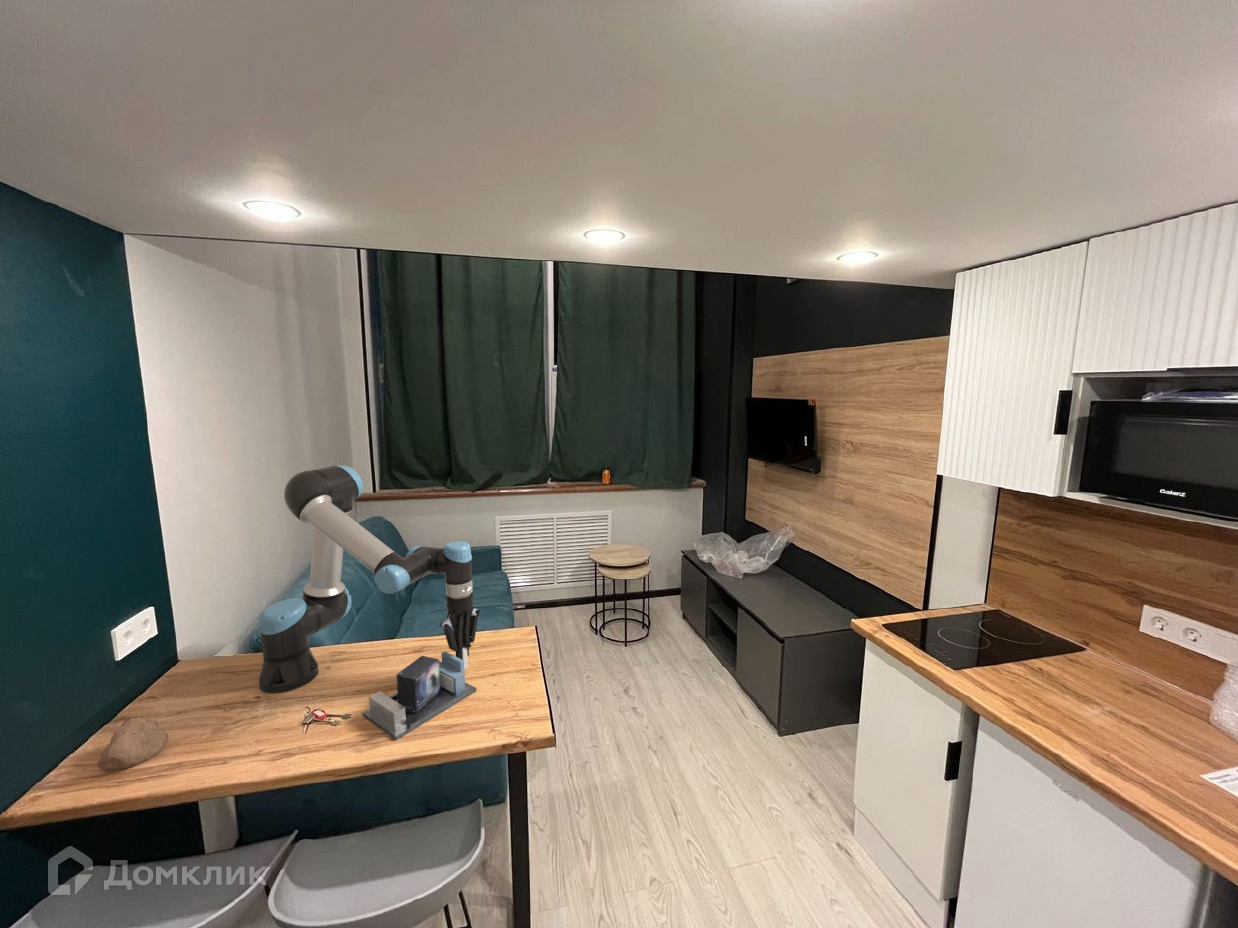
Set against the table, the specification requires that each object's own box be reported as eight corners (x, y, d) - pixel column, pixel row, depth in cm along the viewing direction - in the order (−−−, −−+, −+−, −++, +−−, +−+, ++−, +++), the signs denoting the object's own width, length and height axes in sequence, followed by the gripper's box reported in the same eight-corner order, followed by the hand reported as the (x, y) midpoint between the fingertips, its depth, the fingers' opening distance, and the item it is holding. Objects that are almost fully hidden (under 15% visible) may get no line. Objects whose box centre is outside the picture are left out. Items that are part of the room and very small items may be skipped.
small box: (417, 714, 131) (414, 678, 129) (397, 710, 133) (394, 674, 131) (442, 692, 141) (440, 658, 139) (423, 688, 143) (421, 654, 141)
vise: (362, 716, 132) (361, 695, 131) (442, 673, 152) (441, 655, 151) (396, 740, 123) (394, 718, 122) (476, 691, 143) (475, 672, 142)
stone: (149, 744, 125) (115, 720, 121) (182, 723, 125) (150, 699, 122) (116, 787, 113) (78, 762, 109) (154, 763, 114) (117, 738, 110)
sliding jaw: (429, 681, 146) (428, 656, 145) (443, 674, 150) (441, 649, 149) (454, 695, 139) (453, 669, 138) (468, 687, 143) (467, 662, 142)
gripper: (449, 604, 138) (452, 682, 141) (485, 589, 148) (488, 662, 152) (432, 598, 142) (436, 673, 145) (469, 584, 153) (472, 654, 156)
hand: (463, 667), depth 149 cm, fingers closed
